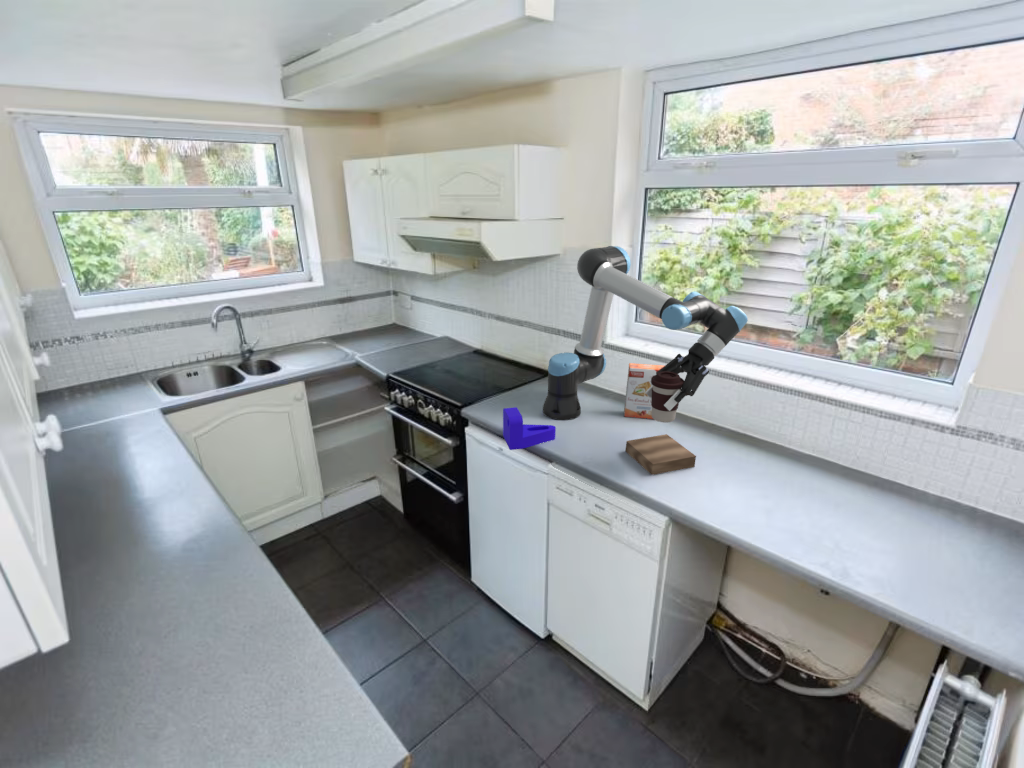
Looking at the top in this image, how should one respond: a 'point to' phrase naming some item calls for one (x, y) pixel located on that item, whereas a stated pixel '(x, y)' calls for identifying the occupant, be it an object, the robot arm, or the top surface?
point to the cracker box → (639, 390)
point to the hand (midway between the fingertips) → (657, 401)
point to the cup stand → (660, 454)
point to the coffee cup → (664, 395)
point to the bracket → (524, 431)
